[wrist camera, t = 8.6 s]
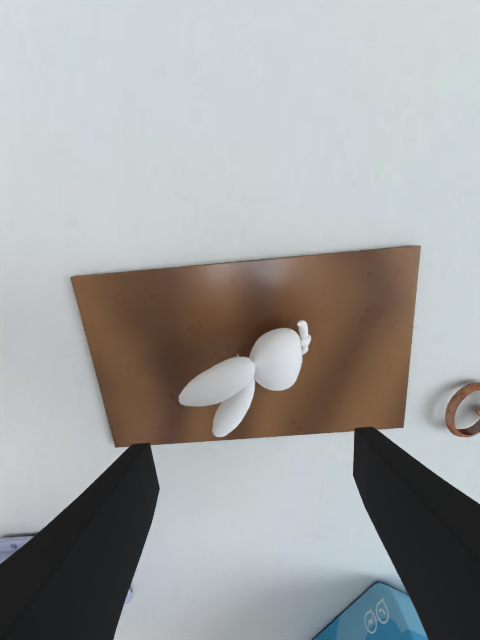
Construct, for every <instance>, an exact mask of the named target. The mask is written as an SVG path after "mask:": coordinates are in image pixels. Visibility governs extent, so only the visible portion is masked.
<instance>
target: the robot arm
mask: <svg viewBox="0 0 480 640" xmlns="http://www.w3.org/2000/svg"><path fill="white" fill-rule="evenodd" d="M353 477H354V479H355V482H356V485H357V487H358V490H359V493H360V496H361V498H362V501H363V503H364V506H365V508H366V510H367V512H368V514H369V517H370V519H371V521H372V523H373V525H374V527H375V529H376V531H377V533H378V535H379V537H380V539H381V541H382V543H383V545H384V547H385V549H386V551H387V553H388V555H389V557H390V559H391V561H392V563H393V565H394V567H395V569H396V571H397V573H398V575H399V577H400V579H401V581H402V583H403V585H404V587H405V589H406V591H407V593H408V595H409V597H410V599H411V601H412V603H413V605H414V608H415V610H416V612H417V614H418V616H419V619H420V621H421V623H422V626H423V628H424V631H425V633H426V635H427V638H428V640H480V504H479V503H477V502H476V501H474V500H473V499H471V498H470V497H468V496H467V495H465V494H464V493H462V492H461V491H459V490H458V489H456V488H455V487H453V486H452V485H451V484H449V483H448V482H446V481H445V480H443V479H442V478H441V477H439V476H438V475H436V474H435V473H434V472H432V471H431V470H429V469H428V468H427V467H425V466H424V465H423V464H421V463H420V462H419V461H417V460H416V459H415V458H413V457H412V456H411V455H409V454H408V453H407V452H405V451H404V450H403V449H401V448H400V447H399V446H397V445H396V444H395V443H394V442H392V441H391V440H390V439H388V438H387V437H386V436H384V435H383V434H382V433H381V432H379V431H378V430H376V429H375V428H374V427H359V428H355V431H354V462H353ZM159 489H160V488H159V483H158V478H157V474H156V469H155V465H154V460H153V455H152V451H151V446H150V443H137V444H132V445H131V446H130V447H129V448H128V449H127V450H126V451H125V452H124V453H123V454H122V455H121V456H120V457H119V458H118V459H117V460H116V461H115V462H114V463H113V464H112V465H111V466H110V467H109V468H108V469H107V470H106V471H105V472H104V473H102V474H101V475H100V476H99V477H98V478H97V479H96V480H95V481H94V482H93V483H92V484H91V485H90V486H89V487H88V488H87V489H86V490H85V491H84V492H83V493H82V494H81V495H80V496H79V497H78V498H77V499H75V500H74V501H73V502H72V503H71V504H70V505H69V506H68V507H67V508H65V509H64V510H63V511H62V512H61V513H60V514H59V515H58V516H57V517H56V518H54V519H53V520H52V521H51V522H50V523H49V524H48V525H47V526H46V527H44V528H43V529H42V530H41V531H40V532H39V533H38V534H36V535H35V536H23V537H6V538H1V539H0V640H113V639H114V635H115V631H116V628H117V625H118V621H119V618H120V615H121V612H122V608H123V606H124V604H128V603H129V602H130V601H131V598H132V593H131V590H130V585H131V582H132V579H133V576H134V573H135V571H136V568H137V565H138V562H139V559H140V556H141V553H142V550H143V547H144V544H145V541H146V538H147V535H148V532H149V529H150V526H151V523H152V520H153V516H154V511H155V507H156V503H157V498H158V493H159Z"/></svg>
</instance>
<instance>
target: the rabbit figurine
mask: <svg viewBox="0 0 480 640" xmlns="http://www.w3.org/2000/svg"><path fill="white" fill-rule="evenodd" d="M297 326H299V334H300V337H299V335H298V334H297V333H296V332H295V331H294V330H292V329H289V328H279V329H274V330H271V331H269V332H267V333H265V334H263V335H262V336H261V337H260V338H259V339H258V340H257V341H256V343H255V344H254V346H253V348H252V350H251V352H250V356H249V358H247V357H239V354H237V357H233V358H230V359H227V360H224V361H223V362H221V363H219V364H216V365H215V366H213V367H212V368H210V369H208V370H206V371H204V372H202V373H201V374H199V375H198V376H196V377H195V378H194V379H193V380H191V381H190V382H189V383H188V384H187V386H186V387H185V388H184V389H183V390H182V392H181V394H180V395H179V402H180V404H182V405H185V406H199V407H200V406H208V405H214V404H218V403H220V402H222V403H221V404H220V406H219V408H218V409H217V411H216V413H215V416H214V419H213V429H212V432H213V434H214V436H216V437H224V436H226V435H227V434H228V433H230V432H231V431H232V430H233V429H235V428H236V427H237V426H238V424H239V423H240V422H241V421H242V419H243V418H244V416H245V414H246V413H247V410H248V409H249V407H250V404H251V401H252V398H253V395H254V391H255V380H256V382H257V383H259V384H260V385H261V386H262V387H264V388H266V389H269V390H273V391H281V390H285V389H288V388H290V387H291V386H292V385H293V384H294V383H295V381H296V379H297V377H298V374H299V372H300V369H301V365H302V355H303V354H305V353H306V352H307V351H308V345H309V344H310V341H311V336H310V335H309V334H308V326H307V323H306V321H304V320H300V321H299V322H298V323H297Z"/></svg>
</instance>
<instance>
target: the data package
mask: <svg viewBox="0 0 480 640" xmlns="http://www.w3.org/2000/svg"><path fill="white" fill-rule="evenodd" d="M314 640H428V638H427V635H426V633H425V631H424V628H423V626H422V623H421V621H420V619H419V616H418V614H417V612H416V610H415V608H414V605H413V603H412V601H411V599H410V597H409V596H408V595H406V594H404V593H402V592H400V591H398V590H395V589H393V588H391V587H389V586H387V585H385V584H382V583H377V584H374V585H373V586H372V587H371V588H370V589H368V590H367V591H366V592H365V593H364V594H363V595H362V596H361V597H360V598H359V599H357V600H356V601H355V602H354V603H353V604H352V605H351V606H350V607H349V608H348V609H346V610H345V611H344V612H343V613H342V614H341V615H340V616H339V617H338V618H337V619H335V620H334V621H333V622H332V623H331V624H330V625H329V626H328V627H327V628H326V629H324V630H323V631H322V632H321V633H320V634H319V635H318V636H317V637H316V638H315V639H314Z"/></svg>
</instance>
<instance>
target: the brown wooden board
mask: <svg viewBox="0 0 480 640" xmlns="http://www.w3.org/2000/svg"><path fill="white" fill-rule="evenodd" d="M420 249H421V246H406V247H394V248H383V249H372V250H361V251H350V252H339V253H328V254H317V255H306V256H294V257H283V258H272V259H261V260H250V261H239V262H228V263H217V264H206V265H194V266H183V267H172V268H161V269H150V270H139V271H128V272H117V273H106V274H94V275H83V276H74V277H71V281H72V285H73V288H74V292H75V296H76V300H77V304H78V307H79V311H80V315H81V319H82V323H83V326H84V330H85V334H86V338H87V342H88V345H89V349H90V353H91V357H92V361H93V364H94V368H95V372H96V376H97V380H98V383H99V387H100V391H101V395H102V399H103V403H104V406H105V410H106V414H107V418H108V422H109V425H110V429H111V433H112V437H113V441H114V444H115V447H130V446H131V445H132V444H137V443H150V445H160V444H174V443H189V442H203V441H218V440H232V439H247V438H261V437H276V436H291V435H305V434H320V433H334V432H349V431H355V428H359V427H374V428H375V429H376V430H378V429H392V428H403V427H404V417H405V407H406V396H407V386H408V375H409V364H410V354H411V343H412V333H413V322H414V312H415V301H416V291H417V280H418V270H419V259H420ZM300 320H304V321H306V323H307V326H308V334H309V335H310V336H311V341H310V344H309V345H308V351H307V352H306V353H305V354H303V355H302V365H301V369H300V372H299V374H298V377H297V379H296V381H295V383H294V384H293V385H292V386H291V387H290V388H288V389H285V390H281V391H273V390H269V389H266V388H264V387H262V386H261V385H260V384H259V383H257V382H256V380H255V391H254V395H253V398H252V401H251V404H250V407H249V409H248V410H247V413H246V414H245V416H244V418H243V419H242V421H241V422H240V423H239V424H238V426H237V427H236V428H235V429H233V430H232V431H231V432H230V433H228V434H227V435H226V436H224V437H216V436H214V434H213V432H212V429H213V419H214V416H215V413H216V411H217V409H218V408H219V406H220V404H221V403H222V402H220V403H218V404H214V405H208V406H200V407H199V406H185V405H182V404H180V402H179V395H180V394H181V392H182V390H183V389H184V388H185V387H186V386H187V384H188V383H189V382H190V381H191V380H193V379H194V378H195V377H196V376H198V375H199V374H201V373H202V372H204V371H206V370H208V369H210V368H212V367H213V366H215V365H216V364H219V363H221V362H223V361H224V360H227V359H230V358H233V357H237V354H239V357H247V358H249V356H250V352H251V350H252V348H253V346H254V344H255V343H256V341H257V340H258V339H259V338H260V337H261V336H262V335H263V334H265V333H267V332H269V331H271V330H274V329H279V328H289V329H292V330H294V331H295V332H296V333H297V334H298V335H299V337H300V334H299V326H297V323H298V322H299V321H300Z"/></svg>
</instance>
